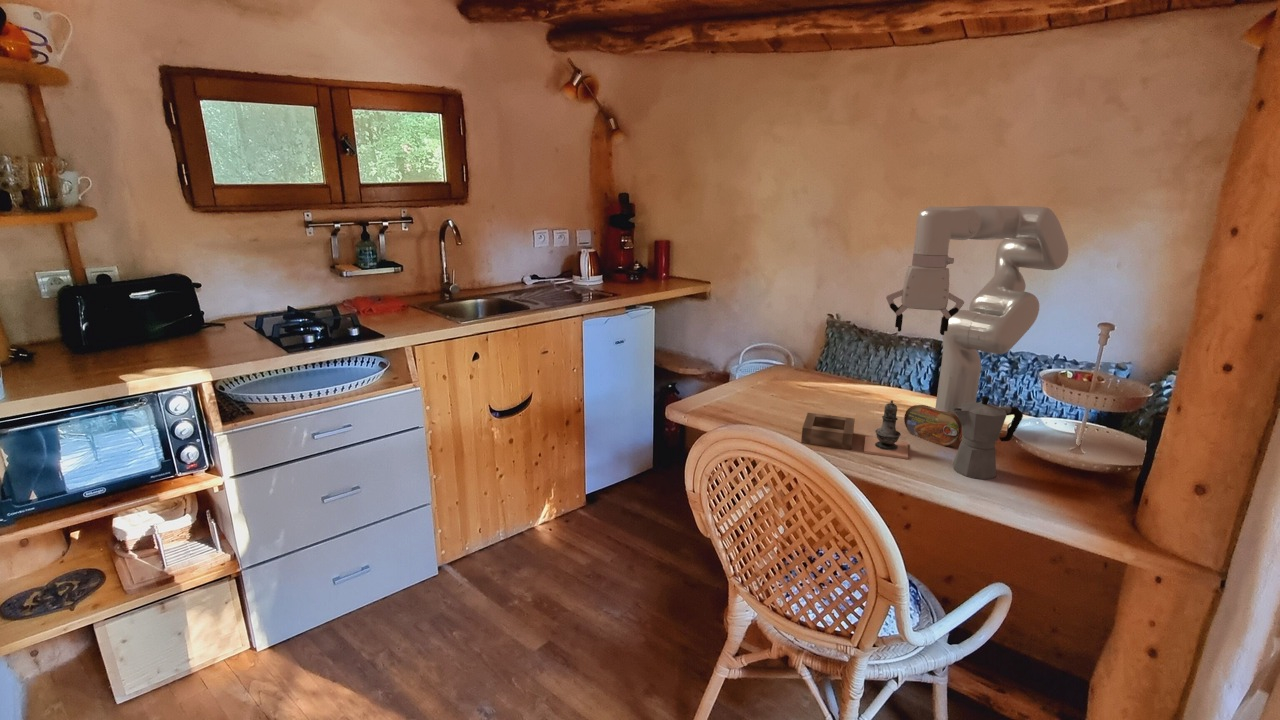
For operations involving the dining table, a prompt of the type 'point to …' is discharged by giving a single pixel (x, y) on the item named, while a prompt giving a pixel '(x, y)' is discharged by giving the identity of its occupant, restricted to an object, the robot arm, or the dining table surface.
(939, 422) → the tin
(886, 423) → the salt shaker
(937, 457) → the dining table surface
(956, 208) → the robot arm
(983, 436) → the coffeepot
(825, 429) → the socket block
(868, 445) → the terracotta tile
